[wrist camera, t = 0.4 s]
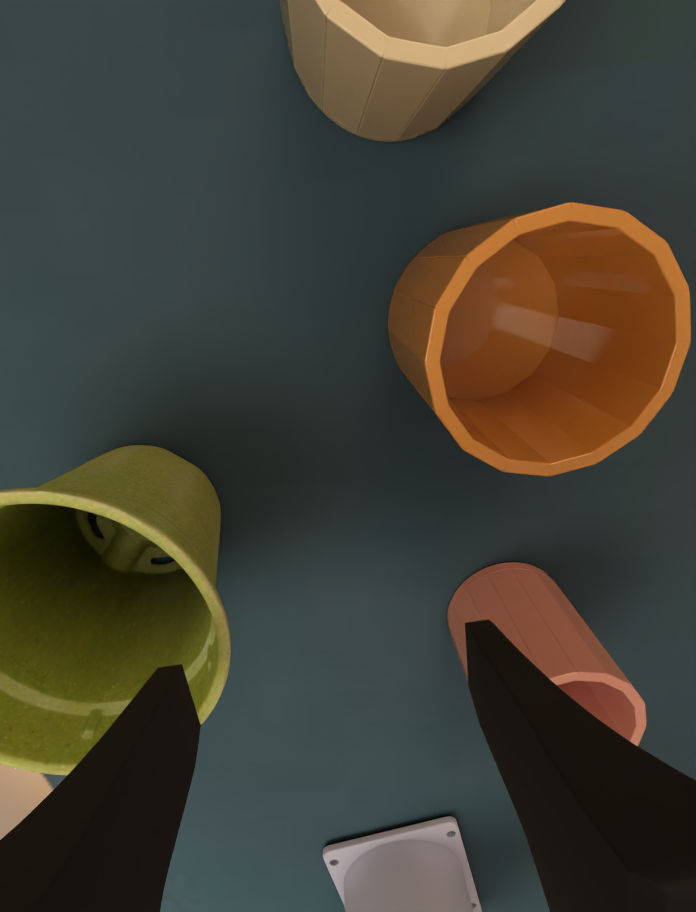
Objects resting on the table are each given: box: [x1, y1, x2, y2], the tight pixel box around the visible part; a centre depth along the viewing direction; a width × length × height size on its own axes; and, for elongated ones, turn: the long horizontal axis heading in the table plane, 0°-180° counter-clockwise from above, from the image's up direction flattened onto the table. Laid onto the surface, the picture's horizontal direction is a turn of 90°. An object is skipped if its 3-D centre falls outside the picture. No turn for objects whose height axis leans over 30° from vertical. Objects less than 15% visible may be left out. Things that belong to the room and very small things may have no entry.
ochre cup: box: [388, 202, 691, 476], centre depth 17 cm, size 7×7×8 cm
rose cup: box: [447, 562, 647, 746], centre depth 22 cm, size 6×6×7 cm
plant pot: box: [0, 445, 231, 775], centre depth 18 cm, size 9×9×9 cm
